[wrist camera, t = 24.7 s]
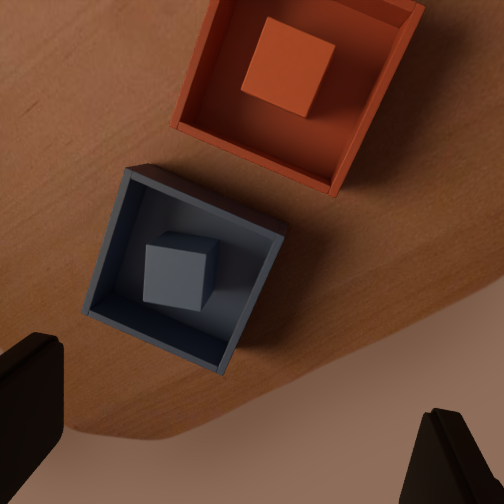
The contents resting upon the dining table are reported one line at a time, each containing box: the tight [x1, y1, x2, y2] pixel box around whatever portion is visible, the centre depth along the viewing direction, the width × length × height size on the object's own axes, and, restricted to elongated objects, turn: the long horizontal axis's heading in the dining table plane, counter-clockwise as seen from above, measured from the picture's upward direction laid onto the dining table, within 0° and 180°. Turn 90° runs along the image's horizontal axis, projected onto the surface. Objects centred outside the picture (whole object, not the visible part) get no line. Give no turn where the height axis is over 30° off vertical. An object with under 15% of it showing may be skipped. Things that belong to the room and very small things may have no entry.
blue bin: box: [81, 163, 289, 376], centre depth 34 cm, size 12×12×4 cm
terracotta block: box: [241, 17, 336, 120], centre depth 29 cm, size 4×4×4 cm
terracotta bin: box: [169, 0, 426, 198], centre depth 29 cm, size 12×12×4 cm
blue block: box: [143, 231, 220, 311], centre depth 33 cm, size 4×4×4 cm
